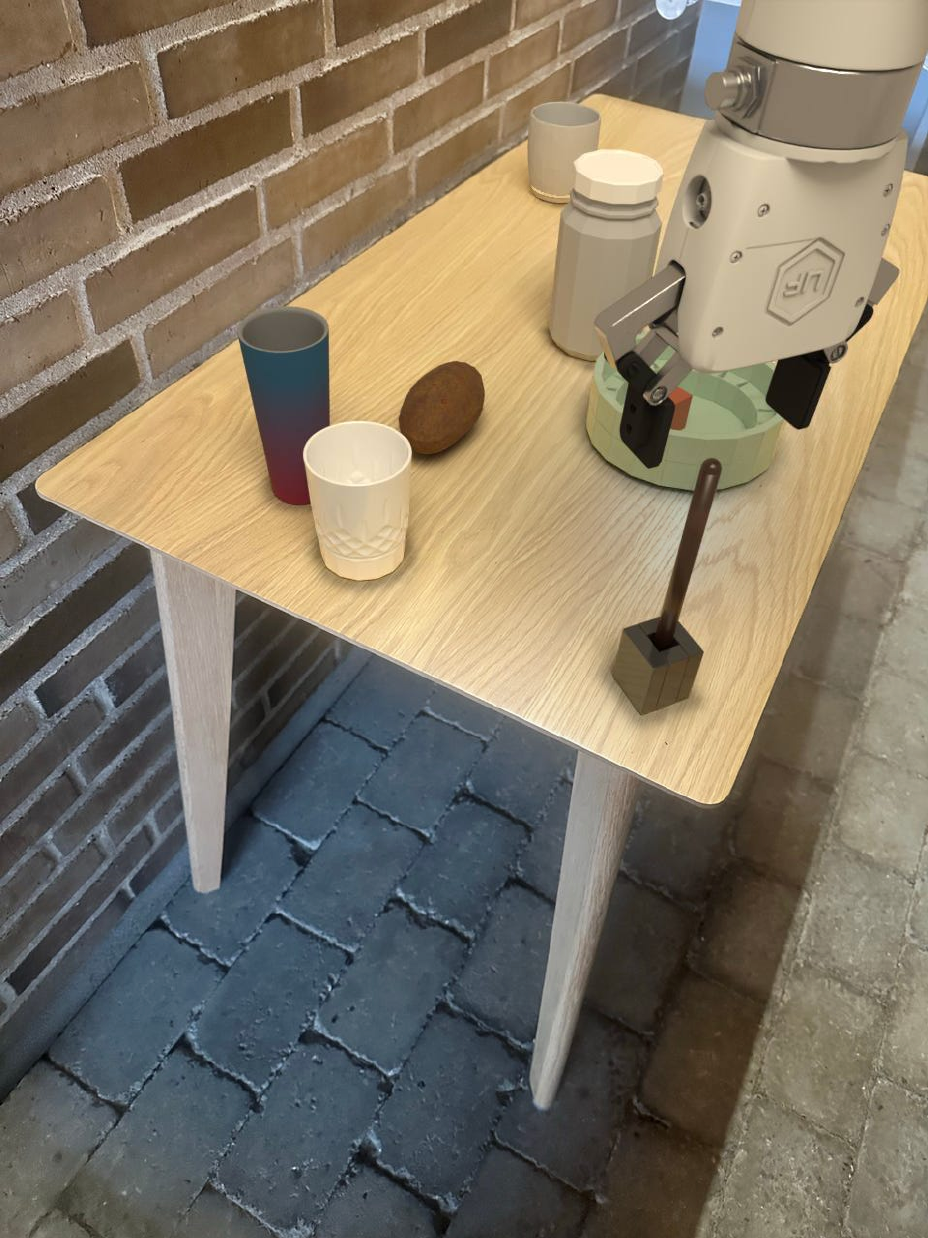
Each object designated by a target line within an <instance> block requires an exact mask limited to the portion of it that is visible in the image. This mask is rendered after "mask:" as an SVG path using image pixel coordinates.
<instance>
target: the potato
mask: <svg viewBox="0 0 928 1238" xmlns="http://www.w3.org/2000/svg"><path fill="white" fill-rule="evenodd" d="M485 398H486V391H485V385H484V381H483V377H482V374H481V373H480V371H478V369H477V368H476V367H475V366H473V365H470V364H469V363H467V362H465V361H464V362H463V361H459V360H452V361H448V362H445V363H442V364H439V365H437V366H436V367H434V368H433V369H431V370H429V371H428V372H426V373H425V374H424V375H422V376H421V377H420V378H419V379H418V380H417V381H416V382H415V383H413V384H412V386H411V387H410V388H409V389H408V391H407V393H406V395H405V397H404V400H403V403H402V406H401V408H400V412H399V415H398V424H399V430H400V433H401V434H402V435H403V436H404V437H405V438H406V439H407V440H408V442H409V444H410V446H411V450H413V451H414V452H416V453H418V454H423V455H432V454H437V453H440V452H442V451H444V450H446V449H448V448H450V447H451V446H452V445H454V444H455V443H456V442H458V441H459V440H460V439H461V438H462V437H463V436H465V435H466V434H467V433H468V431H470V429H472V427H473V426H474V425H475V424H476V423H477V422H478V420H479V418H480V416H481V414H482V412H483V410H484V405H485Z"/></svg>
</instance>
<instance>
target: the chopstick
mask: <svg viewBox="0 0 928 1238" xmlns="http://www.w3.org/2000/svg"><path fill="white" fill-rule="evenodd" d="M721 472H722V464H721V462H720V461H719V460H717V459H716V458H708V459H706V460H704V461H703V462H702V464H701V467H700V470H699V474H698V478H697V481H696V485H695V489H694V491H693V493H692V495H691V496H692V497H691V500H690V504H689V507H688V511H687V515H686V519H685V523H684V526H683V530H682V533H681V538H680V541H679V545H678V549H677V552H676V555H675V560H674V563H673V568H672V570H671V573H670V574H671V575H670V579H669V582H668V585H667V589H666V593H665V596H664V600H663V604H662V608H661V611H660V615H659V616H660V619H659V622H658V626H657V630H656V634H655V637H654V641H653V644H654V646H655V647H656V648H657V650H658V651H659V652H660V651H663V650H666V649H669V648H670V647H671V644H672V640H673V637H674V633H675V630H676V627H677V623H678V621H680V617H681V613H682V609H683V605H684V602H685V599H686V595H687V592H688V589H689V585H690V581H691V578H692V575H693V571H694V569H695V565H696V561H697V557H698V555H699V551H700V548H701V544H702V540H703V537H704V534H705V530H706V527H707V524H708V520H709V516H710V512H711V510H712V506H713V503H714V500H715V496H716V492H717V490H718V489H717V486H718V482H719V479H720V476H721Z"/></svg>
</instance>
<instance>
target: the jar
mask: <svg viewBox="0 0 928 1238" xmlns="http://www.w3.org/2000/svg"><path fill="white" fill-rule="evenodd" d="M664 176H665V171H664V169H663V167H662V166H661V163H660V162H659V161H657V160H655V159H654V158H652V157H650V156H648V155H646V154H644V153H639V152H635V151H631V150H626V149H607V148H606V149H602V148H601V149H597V151H593V152H588V153H584V154H582V155H581V156H580V157H579V158H578V159H577V160H576V161H574V163H573V172H572V183H573V186H574V188H573V189H572V190H571V191H570V197H571V201H570V202H569V203H566V205H565V206H563V208H562V209H561V211H560V217H559V225H558V226H559V227H558V233H557V234H558V236H557V243H556V253H555V263H554V270H553V281H552V289H551V298H550V299H551V300H550V308H549V309H550V310H549V318H548V329H549V334H550V338H551V339H552V340H553V342H554V344H555V346H557V347H558V348H559V349H561V350H562V351H563V352H564V353H566V354H567V355H569V356H570V357H573V358H577V359H580V360H584V361H588V362H596V360H597V358H598V357H599V356H600V355H601V354H602V353H603V352H604V350H603V349H602V346H601V343H600V341H599V338H598V335H597V332H596V330H595V327H594V321H595V318H596V317H597V315H598V314H599V313H601V312H602V311H603V310H605V309H606V308H608V307H609V306H611V305H612V304H614V303H615V302H617V301H618V300H620V299H621V298H622V297H624V296H625V295H627V294H628V293H630V292H631V291H633V290H634V289H636V288H637V287H639V286H640V285H641V284H643V283H644V282H646V281H647V280H649V279H650V278H652V277H653V276H654V269H655V264H656V259H657V254H658V249H659V248H658V247H659V243H660V238H661V233H662V226H663V221H662V220H661V218H660V215H659V213H658V211H657V209H656V208H658V206H659V204H660V201H659V199H658V197H657V196H658V195H659V194H660V193H661V191H662V186H663V181H664ZM641 333H643V329H642V330H641V331H639V333H638V334H641Z"/></svg>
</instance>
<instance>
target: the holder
mask: <svg viewBox="0 0 928 1238" xmlns="http://www.w3.org/2000/svg"><path fill="white" fill-rule="evenodd" d="M659 619H660V615H659V616H658V617H656V616H655V617H653V618H650V619H647V620H644V621H641V622H638V623H635V624H631V625H629V626H626V627H623V628H622V631H621V634H620V635H621V636H620V639H619V642H618V643H619V644H618V647H617V648H618V649H617V653H616V657H615V661H614V665H613V669H612V677H613V679H614V680H615V682H616V683H617V684H618V685H619V687H620V688H621V690H622V691H623V693H624V694H625V695H626V697H627V698H628V699H629V701H630V702H631V704H632V705H633V706H634V707H635V709H636V710H637V712H638V713H639V715H640V716H644V715H646V714H648V713H652V712H655V711H658V710H660V709H663V708H666V707H669V706H671V705H675V704H677V703H679V702H682V701H685V700H687V699H689V698H690V695H691V693H692V690H693V687H694V684H695V681H696V678H697V674H698V672H699V669H700V665H701V664H702V663H701V662H702V659H703V657H704V654H705V651H704V650H703V649H702V647H701V645H699V644H698V642H697V641H696V640H695V639H694V638H693V636H692V635H691V634H690V633H689V631H688V630H687V629H686V628H685V627H684V625H683V624H682V623H681V621H680V620H678V623H677V627H676V630H675V633H674V637H673V640H672V644H671V647H670V648H669V649H666V650H663V651H660V652H659V651H658V650H657V648H656V647H655V646H654V644H653V641H654V637H655V634H656V630H657V626H658V622H659Z"/></svg>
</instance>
